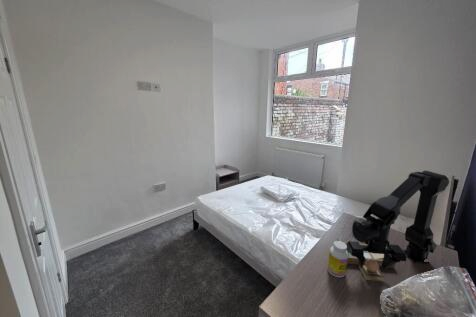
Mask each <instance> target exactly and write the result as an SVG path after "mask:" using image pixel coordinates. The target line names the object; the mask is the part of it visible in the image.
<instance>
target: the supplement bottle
mask: <svg viewBox="0 0 476 317" xmlns="http://www.w3.org/2000/svg"><path fill="white" fill-rule="evenodd" d="M343 242H344V241H342V240H341V241H337V240H335V241H334V242H333V244H332V245H331V247H330V248H329V253H328V261H327V268H326V269H327V271H328V273H330V275H332V276H333V277H335V278H338V279H339V278H344V276H346V272H347V266H348V263H347V262H348V256H349V255H348V252H347V245H346V244H345V243H343Z"/></svg>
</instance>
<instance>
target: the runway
mask: <svg viewBox="0 0 476 317" xmlns="http://www.w3.org/2000/svg"><path fill="white" fill-rule="evenodd" d="M336 241H341V242H343V243H345V244H346V245H347V242H348V241H347V242H346V241H342V240H341V238H340V237H337V240H336ZM359 244H360V245H361V246H366V247H367V244H365V243H362V242H359ZM347 252H348V255H349V256H348V262H347V265H349V264H351V265H358V266H359V261H358V258H356V257H354V256H352V255H351V254H350V252H349V250H348V248H347ZM364 257H365V261H364V263H366V261H367V260H369V259H372V260H375V261H376V262H377V263H378V265H379V268H382V262H383V258H384V254H376V253H365V252H364ZM395 266H396V263H395V264H393V265H391V266H390V267H388V268H387V269H389V268H390V269H394V268H396V267H395Z"/></svg>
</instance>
